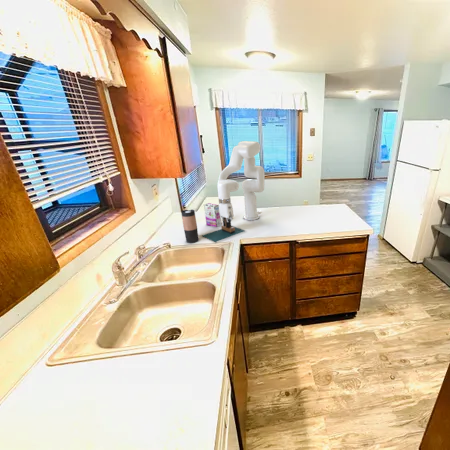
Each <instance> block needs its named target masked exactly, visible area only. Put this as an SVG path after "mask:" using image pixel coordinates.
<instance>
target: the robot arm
mask: <svg viewBox="0 0 450 450" xmlns="http://www.w3.org/2000/svg"><path fill="white" fill-rule="evenodd" d="M260 152H261V144H260V143H259V142H258V141H255V140H254V141H253V140H252V141H251V140H250V141H249V140H242V141H239V142H238V143H237V145H234V146H233V148H232V151H231V154H230V158H229V163H228V165H227V166H226V167H224V168H223V169H222V170H221V172H220V173H219V176H218V179H217V184H216V187H217V196H218V205H219V213H220V217H221V222H222V226H225V221H224V219H225V218H226V219H227V222H226V224H227V228H229V227H231V226H232V220H234V215H235V214H234V209H233V204H232V201H231V193H232V192H237V191H238V190H239V189H240V184H239V182H238V181H237V180H233V179H228V177H229V176H230V175H232V174H233V173H236V172H238V171H240V170H242V166H243V174H244V176H245V177H246V178H250V179H244V180H243V181H242V183H241V187H242V192H243V200H244V216H243V219H244V220H246V221H254V220H258V219H260V214H262V211H261V210H260V211H258V206H257V204H258V203H257V195H256V193H263V192H264V190H265V175H266V174H265V173H266V172H265V169H264V167H263V166H261V165H256V156H257V155H258V154H259V153H260Z"/></svg>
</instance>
